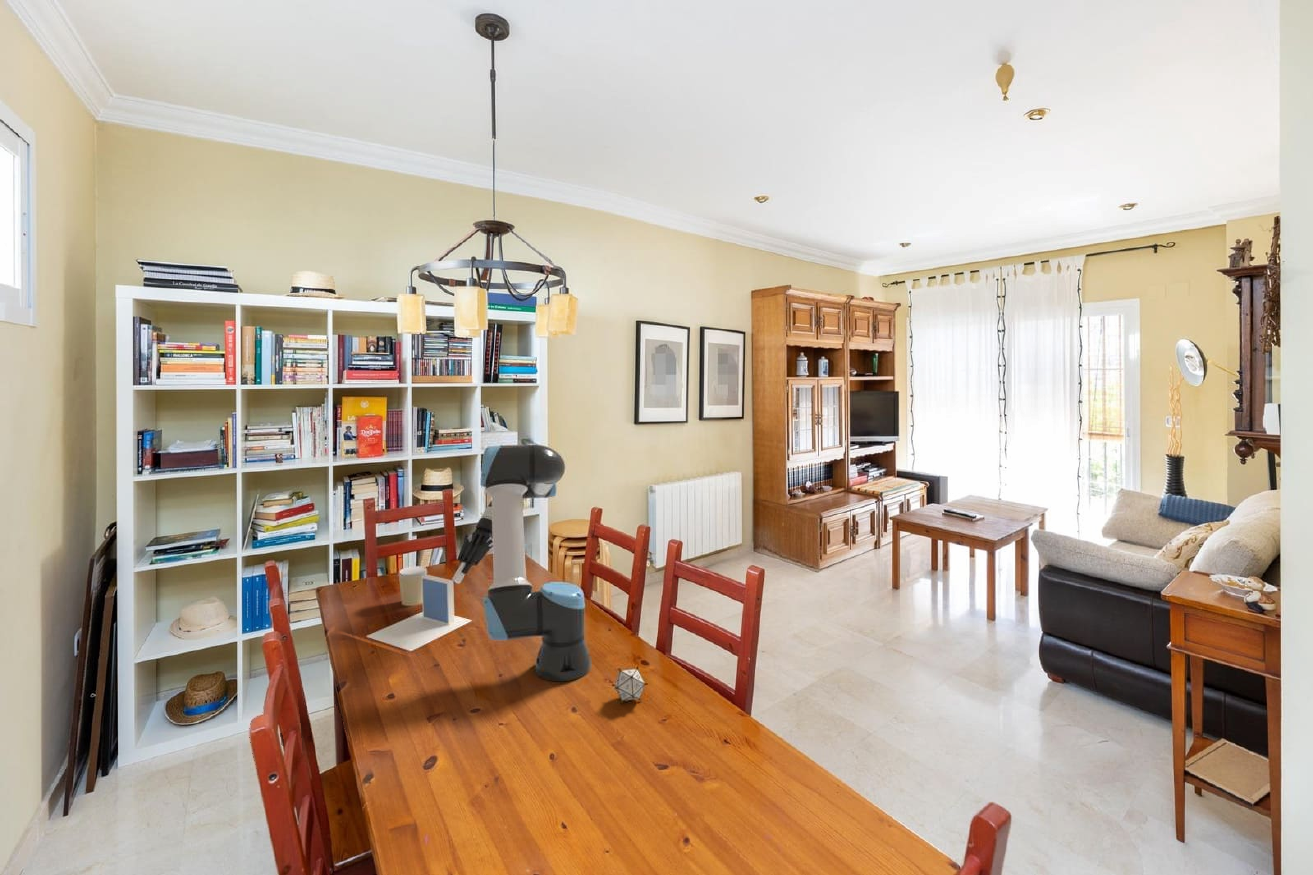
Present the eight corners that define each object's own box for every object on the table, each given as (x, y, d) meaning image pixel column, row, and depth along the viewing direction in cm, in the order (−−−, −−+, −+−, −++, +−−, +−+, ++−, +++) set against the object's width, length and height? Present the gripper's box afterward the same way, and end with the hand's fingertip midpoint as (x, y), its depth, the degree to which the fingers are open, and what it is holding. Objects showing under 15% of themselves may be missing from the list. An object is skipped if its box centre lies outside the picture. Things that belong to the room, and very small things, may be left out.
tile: (454, 622, 185) (453, 580, 183) (448, 625, 183) (447, 582, 181) (428, 615, 190) (427, 574, 189) (422, 617, 188) (421, 576, 187)
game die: (621, 714, 143) (598, 680, 143) (644, 690, 148) (622, 658, 149) (637, 713, 135) (613, 677, 136) (661, 688, 141) (637, 654, 142)
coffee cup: (433, 601, 203) (432, 569, 202) (410, 610, 196) (409, 576, 194) (417, 596, 208) (416, 564, 207) (393, 604, 201) (392, 571, 199)
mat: (472, 622, 187) (472, 620, 187) (411, 653, 165) (411, 651, 165) (429, 610, 196) (429, 608, 196) (365, 638, 174) (365, 636, 174)
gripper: (509, 530, 205) (476, 590, 192) (482, 525, 211) (448, 583, 198) (498, 519, 200) (463, 579, 187) (471, 514, 206) (435, 573, 193)
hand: (455, 581), depth 193 cm, fingers closed
